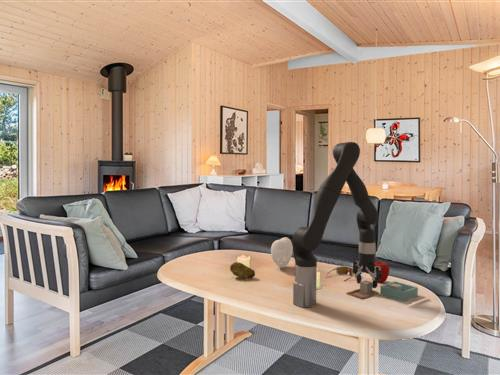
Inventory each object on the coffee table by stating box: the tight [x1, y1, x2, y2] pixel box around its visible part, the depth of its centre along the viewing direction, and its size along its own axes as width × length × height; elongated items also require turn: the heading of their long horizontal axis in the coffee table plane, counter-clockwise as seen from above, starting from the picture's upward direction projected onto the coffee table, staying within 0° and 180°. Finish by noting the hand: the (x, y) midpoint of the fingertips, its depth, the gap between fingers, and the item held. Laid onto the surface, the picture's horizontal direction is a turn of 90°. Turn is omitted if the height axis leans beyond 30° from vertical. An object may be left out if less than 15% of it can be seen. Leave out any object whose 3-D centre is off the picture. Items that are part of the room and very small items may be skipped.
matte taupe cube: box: [389, 283, 402, 291], centre depth 177 cm, size 4×4×5 cm
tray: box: [345, 288, 380, 300], centre depth 180 cm, size 13×9×1 cm
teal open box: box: [379, 280, 419, 302], centre depth 178 cm, size 12×12×4 cm
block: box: [359, 280, 374, 295], centre depth 181 cm, size 4×4×5 cm
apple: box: [372, 261, 390, 284], centre depth 199 cm, size 10×10×11 cm
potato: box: [229, 261, 256, 280], centre depth 206 cm, size 8×13×8 cm, turn 59°
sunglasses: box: [324, 265, 357, 282], centre depth 207 cm, size 14×15×5 cm
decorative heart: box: [270, 236, 293, 271], centre depth 225 cm, size 18×11×17 cm, turn 149°
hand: (366, 285), depth 182 cm, fingers open, 8 cm apart
